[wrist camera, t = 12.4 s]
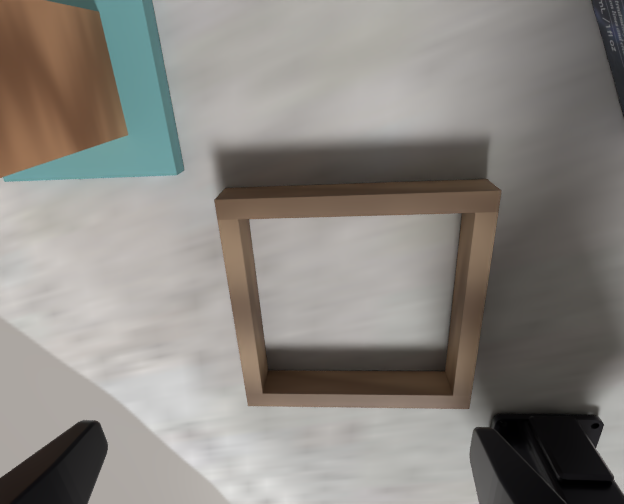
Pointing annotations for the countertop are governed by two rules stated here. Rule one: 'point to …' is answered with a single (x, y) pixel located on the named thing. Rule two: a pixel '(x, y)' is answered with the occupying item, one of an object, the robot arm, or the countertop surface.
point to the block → (53, 84)
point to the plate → (126, 103)
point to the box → (613, 38)
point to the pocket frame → (362, 202)
